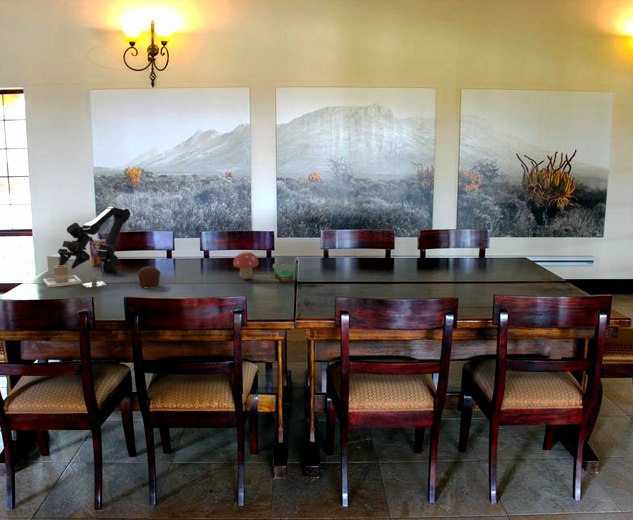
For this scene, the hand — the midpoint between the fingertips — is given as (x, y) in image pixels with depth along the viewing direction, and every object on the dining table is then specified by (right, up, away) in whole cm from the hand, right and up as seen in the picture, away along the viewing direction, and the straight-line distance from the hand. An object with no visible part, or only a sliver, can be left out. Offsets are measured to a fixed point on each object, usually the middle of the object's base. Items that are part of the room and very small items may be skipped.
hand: (65, 267), depth 302 cm
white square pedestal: (+17, -9, -6) cm, 20 cm away
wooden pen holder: (-1, -8, -1) cm, 8 cm away
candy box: (0, +1, +48) cm, 48 cm away
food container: (+116, -8, -1) cm, 116 cm away
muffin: (+46, -10, -8) cm, 48 cm away
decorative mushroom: (+94, -7, +6) cm, 95 cm away
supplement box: (-9, -6, +13) cm, 17 cm away
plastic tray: (-1, -8, -1) cm, 9 cm away
